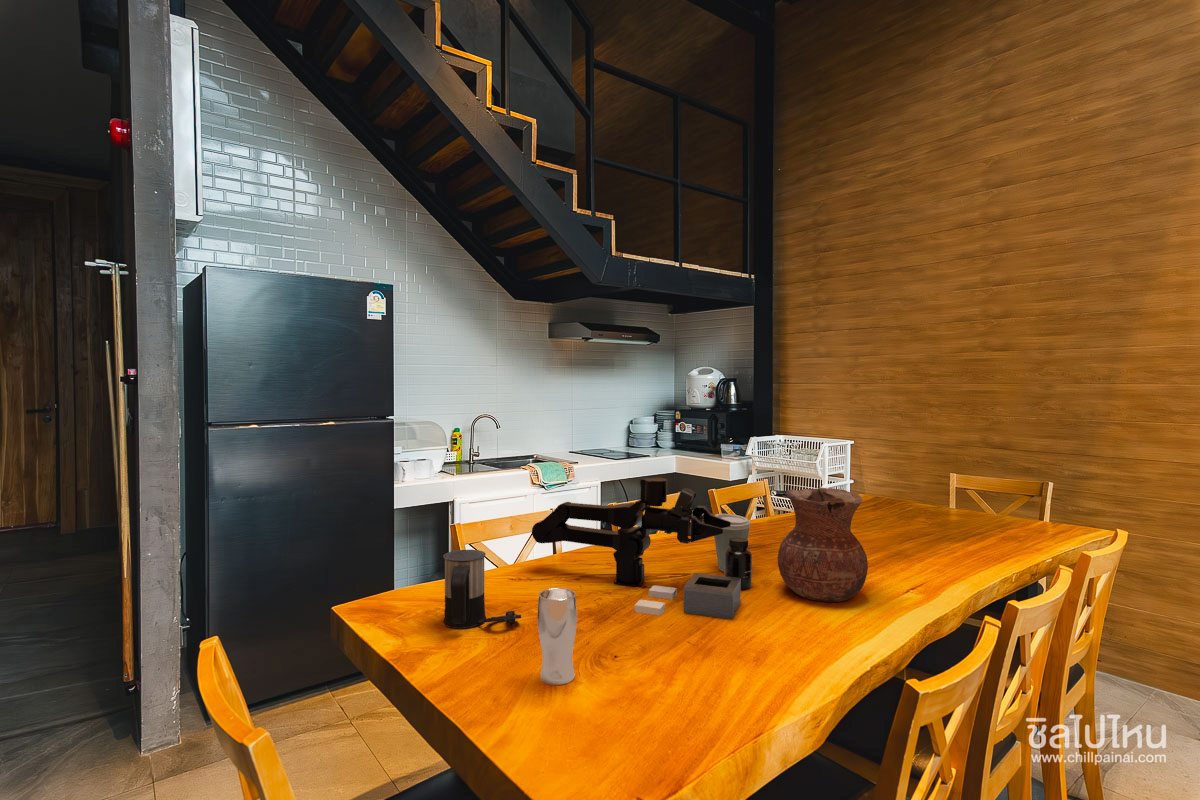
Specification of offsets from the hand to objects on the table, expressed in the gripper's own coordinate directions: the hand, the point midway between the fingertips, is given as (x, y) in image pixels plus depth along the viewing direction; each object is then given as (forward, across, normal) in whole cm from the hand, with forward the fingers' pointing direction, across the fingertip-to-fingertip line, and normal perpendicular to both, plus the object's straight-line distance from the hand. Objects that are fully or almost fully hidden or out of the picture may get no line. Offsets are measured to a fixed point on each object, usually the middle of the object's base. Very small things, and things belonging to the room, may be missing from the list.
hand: (726, 527), depth 156 cm
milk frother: (-45, -38, +20) cm, 62 cm away
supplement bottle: (+2, +8, +16) cm, 18 cm away
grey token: (-14, -6, +18) cm, 23 cm away
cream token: (-13, -17, +18) cm, 28 cm away
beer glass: (-18, -54, +19) cm, 60 cm away
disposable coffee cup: (-2, +21, +16) cm, 27 cm away
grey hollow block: (0, -10, +17) cm, 20 cm away
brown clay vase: (+22, +11, +16) cm, 29 cm away
